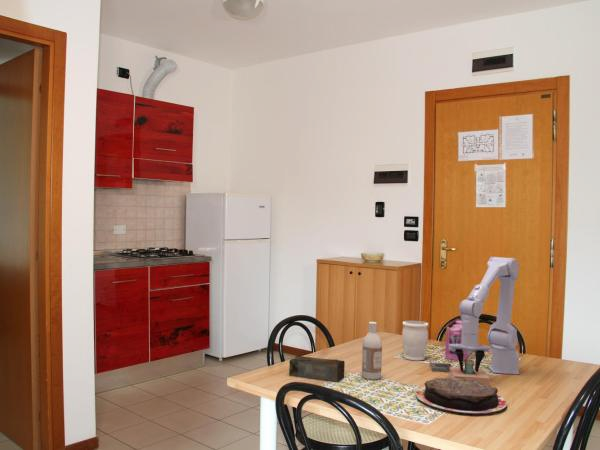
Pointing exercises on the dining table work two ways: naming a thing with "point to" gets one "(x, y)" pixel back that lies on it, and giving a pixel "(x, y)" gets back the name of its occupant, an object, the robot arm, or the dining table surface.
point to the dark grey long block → (317, 368)
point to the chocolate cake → (461, 396)
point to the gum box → (454, 339)
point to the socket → (470, 375)
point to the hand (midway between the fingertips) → (469, 370)
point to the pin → (469, 366)
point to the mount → (440, 367)
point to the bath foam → (372, 354)
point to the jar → (415, 339)
